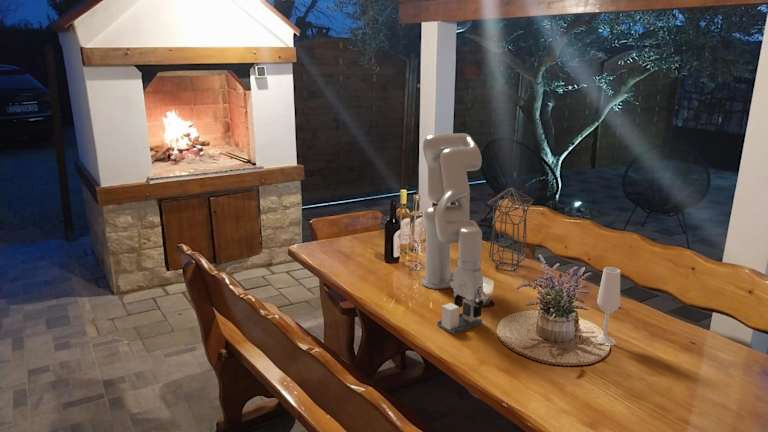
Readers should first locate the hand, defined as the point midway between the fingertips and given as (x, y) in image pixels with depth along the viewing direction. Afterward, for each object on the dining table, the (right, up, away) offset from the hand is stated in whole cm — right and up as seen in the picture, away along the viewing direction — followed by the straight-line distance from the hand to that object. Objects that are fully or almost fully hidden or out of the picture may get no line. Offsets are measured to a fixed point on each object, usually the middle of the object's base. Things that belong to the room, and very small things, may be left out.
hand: (467, 311), depth 196 cm
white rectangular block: (+1, -3, +1) cm, 3 cm away
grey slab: (-3, -4, -1) cm, 5 cm away
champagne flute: (+42, -7, -12) cm, 44 cm away
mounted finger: (-6, -4, -4) cm, 8 cm away
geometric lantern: (+24, +10, +51) cm, 57 cm away
